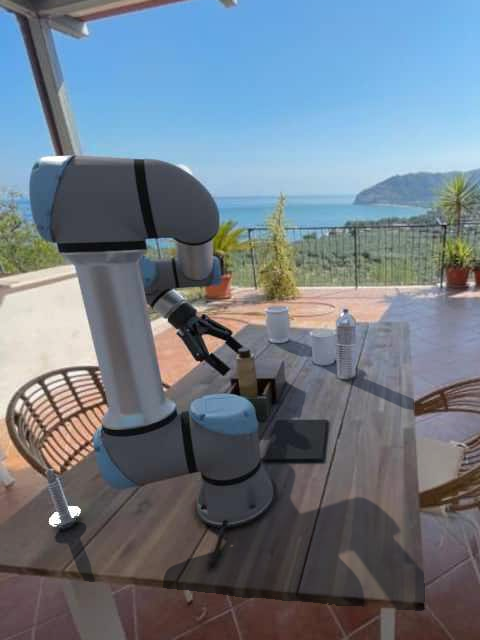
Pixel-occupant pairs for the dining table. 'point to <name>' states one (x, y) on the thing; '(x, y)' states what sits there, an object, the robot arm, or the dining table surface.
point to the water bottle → (346, 346)
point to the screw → (60, 504)
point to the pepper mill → (246, 373)
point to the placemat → (297, 441)
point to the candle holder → (323, 346)
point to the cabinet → (268, 374)
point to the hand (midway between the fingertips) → (236, 362)
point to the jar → (277, 323)
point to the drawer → (258, 397)
